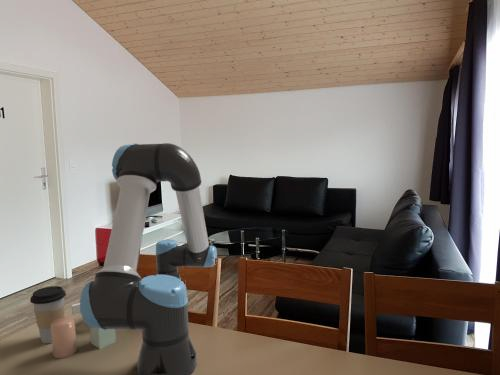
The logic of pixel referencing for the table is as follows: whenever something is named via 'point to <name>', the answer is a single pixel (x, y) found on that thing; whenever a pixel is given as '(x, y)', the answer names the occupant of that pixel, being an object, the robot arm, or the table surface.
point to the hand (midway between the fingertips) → (72, 309)
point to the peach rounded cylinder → (63, 337)
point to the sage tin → (102, 337)
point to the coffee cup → (48, 309)
